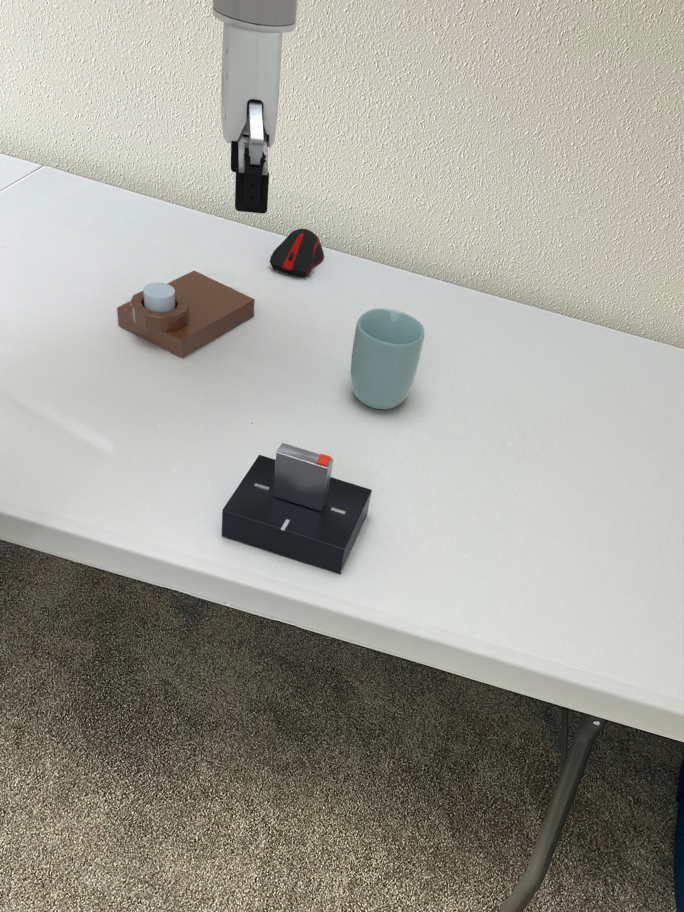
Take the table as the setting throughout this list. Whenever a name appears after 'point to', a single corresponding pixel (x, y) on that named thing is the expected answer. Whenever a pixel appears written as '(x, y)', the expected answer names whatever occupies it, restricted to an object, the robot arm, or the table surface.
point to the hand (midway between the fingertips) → (248, 191)
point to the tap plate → (295, 519)
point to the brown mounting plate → (188, 314)
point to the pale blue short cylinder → (159, 297)
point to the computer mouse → (297, 253)
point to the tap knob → (302, 476)
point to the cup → (385, 357)
